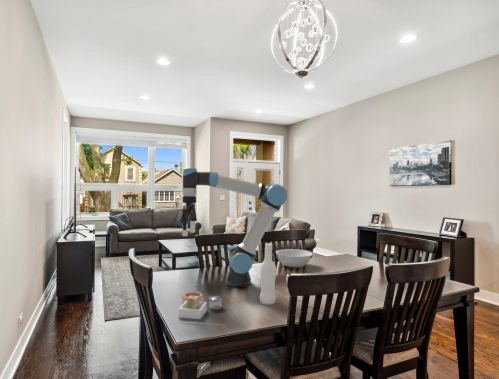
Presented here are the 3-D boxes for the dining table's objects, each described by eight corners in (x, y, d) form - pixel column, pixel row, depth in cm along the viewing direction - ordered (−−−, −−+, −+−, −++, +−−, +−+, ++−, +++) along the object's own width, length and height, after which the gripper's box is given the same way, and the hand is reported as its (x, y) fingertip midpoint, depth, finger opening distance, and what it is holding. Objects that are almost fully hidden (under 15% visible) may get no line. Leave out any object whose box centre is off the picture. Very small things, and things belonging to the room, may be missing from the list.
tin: (223, 306, 164) (223, 296, 164) (220, 311, 158) (220, 300, 158) (210, 306, 165) (210, 295, 165) (207, 310, 159) (207, 299, 159)
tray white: (206, 313, 157) (206, 302, 157) (200, 321, 147) (200, 310, 147) (185, 311, 158) (185, 300, 158) (178, 319, 148) (178, 308, 148)
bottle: (258, 299, 175) (259, 242, 174) (274, 299, 175) (275, 242, 175) (260, 305, 167) (261, 245, 166) (276, 305, 167) (277, 245, 167)
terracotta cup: (203, 303, 169) (203, 292, 169) (198, 309, 160) (198, 298, 160) (186, 302, 170) (186, 291, 170) (180, 308, 161) (180, 297, 161)
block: (198, 313, 154) (198, 296, 154) (195, 316, 150) (195, 299, 150) (190, 312, 155) (190, 295, 155) (186, 316, 151) (187, 298, 151)
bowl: (272, 262, 262) (272, 249, 262) (306, 261, 265) (306, 249, 265) (279, 271, 235) (279, 256, 234) (317, 270, 238) (317, 256, 237)
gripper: (189, 195, 199) (189, 230, 199) (175, 196, 174) (174, 237, 175) (202, 195, 198) (201, 231, 198) (189, 196, 173) (188, 237, 174)
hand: (188, 234), depth 187 cm, fingers open, 13 cm apart
